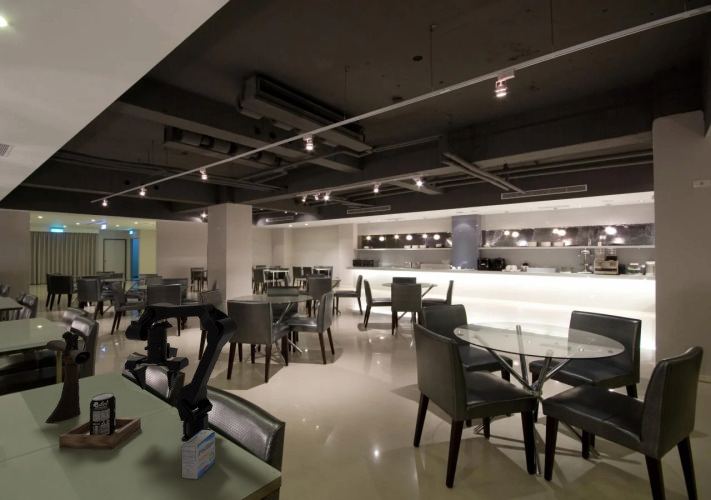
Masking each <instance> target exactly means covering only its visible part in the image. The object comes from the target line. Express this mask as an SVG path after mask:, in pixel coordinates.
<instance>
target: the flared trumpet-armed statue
mask: <svg viewBox="0 0 711 500" xmlns="http://www.w3.org/2000/svg"><path fill="white" fill-rule="evenodd" d="M61 338H62V339H63V340H64V341H63V340H60V339H54V340H53V339H52V340H50V341H48V342H47V343H46V344H45V348H46V350H48V351H51V352H62V358H63V360H64V361H63V362H64V363H63V364H64V378H63V379H64V380H63V385H62V388H61V389H62V390H61V394H60V395H61V396H60V398H59V401H58V403H57V404H56V407H55V408H54V410H53V411H52V412H51V414H50V415H49V416H48V418H47V419H46V420H45V423H48V424H50V423H58V422H62V421H65V420H70V419H73V418H75V417H78V416H79V415H80V414H81V406H80V380H79V379H80V378H79V365H84V364H85V363H88V361H89V360H90V358H91V353H90V351H88V350H80V348H79V339H80V333H73V332H72V331H68V330H67V331H65V332H64V333H62V335H61Z"/></svg>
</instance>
